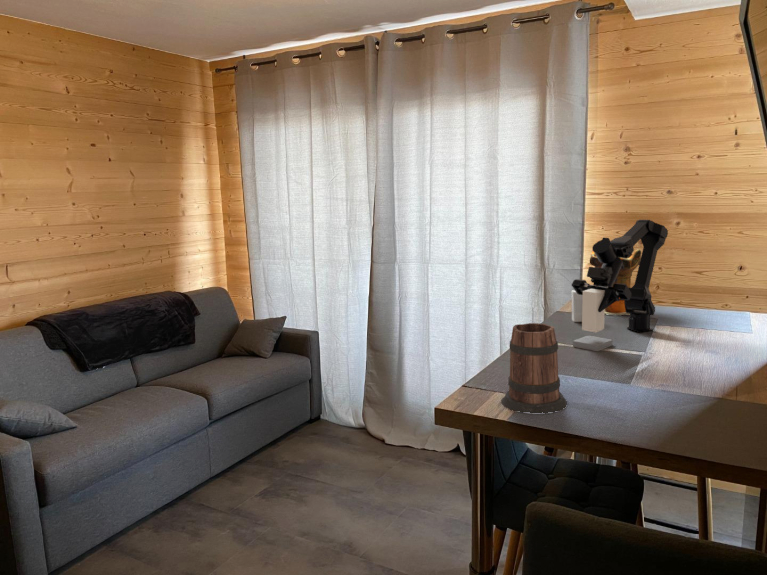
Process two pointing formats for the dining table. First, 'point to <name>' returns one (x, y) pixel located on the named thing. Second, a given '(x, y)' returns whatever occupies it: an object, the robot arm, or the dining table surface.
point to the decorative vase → (620, 279)
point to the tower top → (592, 343)
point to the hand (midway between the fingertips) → (591, 310)
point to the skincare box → (576, 306)
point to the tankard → (533, 370)
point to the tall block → (592, 310)
